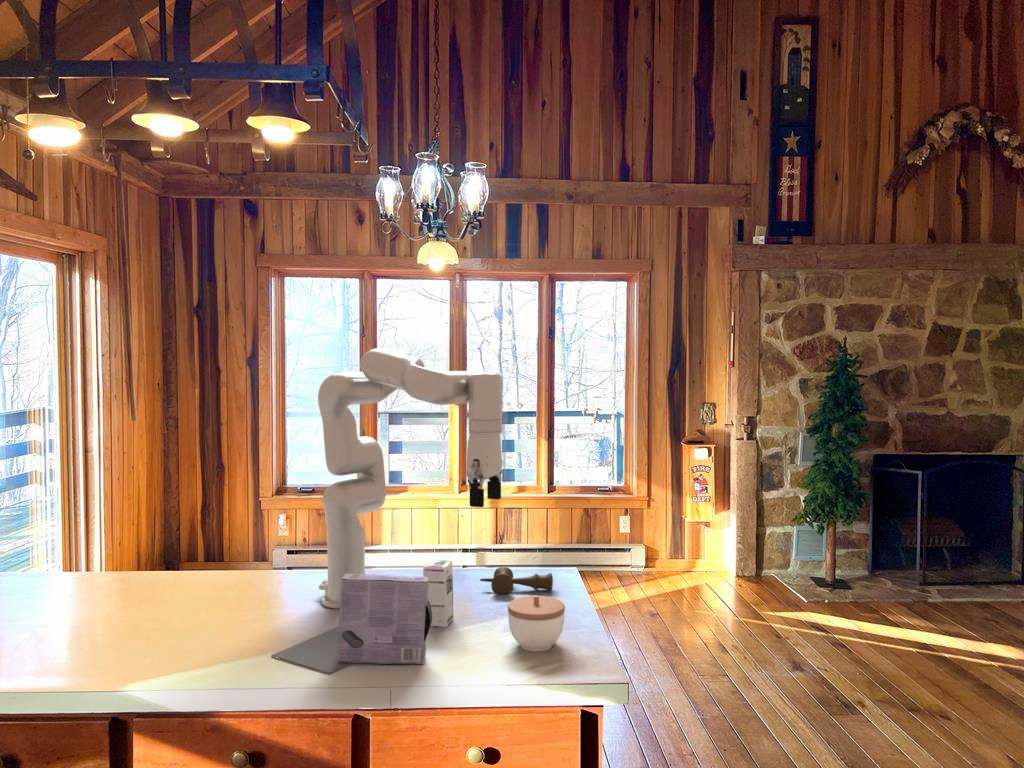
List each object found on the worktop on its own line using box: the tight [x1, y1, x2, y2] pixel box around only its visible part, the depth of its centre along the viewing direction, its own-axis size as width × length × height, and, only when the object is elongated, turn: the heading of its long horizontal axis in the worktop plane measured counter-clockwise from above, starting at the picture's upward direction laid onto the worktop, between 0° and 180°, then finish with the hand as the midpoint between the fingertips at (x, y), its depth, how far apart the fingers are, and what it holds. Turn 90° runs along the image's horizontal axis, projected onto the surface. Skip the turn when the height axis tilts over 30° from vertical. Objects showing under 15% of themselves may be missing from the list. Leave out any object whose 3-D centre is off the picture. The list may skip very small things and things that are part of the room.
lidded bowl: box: [507, 594, 566, 652], centre depth 166 cm, size 13×13×11 cm
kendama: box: [479, 566, 554, 596], centre depth 205 cm, size 6×10×20 cm
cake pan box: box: [337, 573, 432, 665], centre depth 158 cm, size 19×5×18 cm, turn 91°
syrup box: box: [422, 559, 454, 628], centre depth 180 cm, size 6×6×14 cm
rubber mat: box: [271, 625, 355, 675], centre depth 165 cm, size 17×22×1 cm
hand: (485, 502), depth 170 cm, fingers open, 9 cm apart
